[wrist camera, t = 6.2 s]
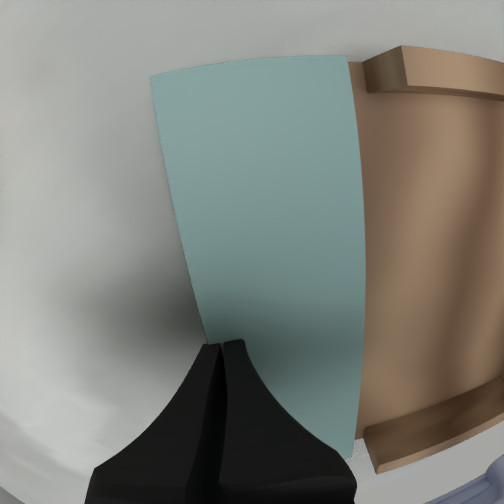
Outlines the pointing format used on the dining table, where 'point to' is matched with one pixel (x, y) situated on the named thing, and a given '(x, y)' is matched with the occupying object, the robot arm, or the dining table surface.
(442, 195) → the brown wooden drawer
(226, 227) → the panel
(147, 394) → the dining table surface
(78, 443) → the dining table surface
